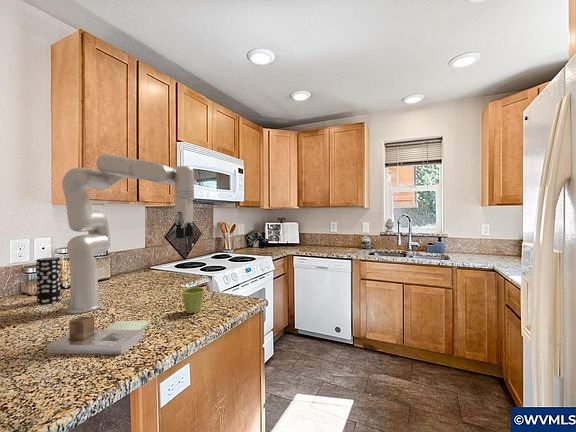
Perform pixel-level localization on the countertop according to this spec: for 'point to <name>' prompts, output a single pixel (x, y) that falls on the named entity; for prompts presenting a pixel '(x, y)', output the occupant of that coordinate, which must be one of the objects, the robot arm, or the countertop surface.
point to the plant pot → (193, 299)
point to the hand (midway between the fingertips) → (184, 237)
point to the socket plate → (98, 342)
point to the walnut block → (81, 328)
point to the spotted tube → (48, 281)
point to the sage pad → (128, 325)
